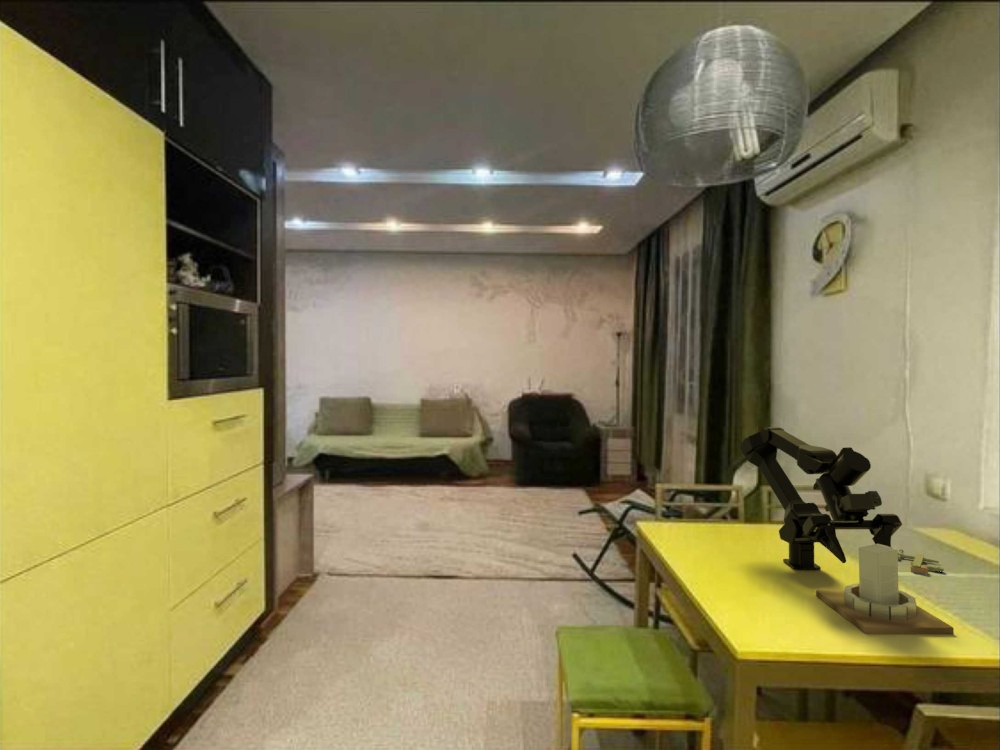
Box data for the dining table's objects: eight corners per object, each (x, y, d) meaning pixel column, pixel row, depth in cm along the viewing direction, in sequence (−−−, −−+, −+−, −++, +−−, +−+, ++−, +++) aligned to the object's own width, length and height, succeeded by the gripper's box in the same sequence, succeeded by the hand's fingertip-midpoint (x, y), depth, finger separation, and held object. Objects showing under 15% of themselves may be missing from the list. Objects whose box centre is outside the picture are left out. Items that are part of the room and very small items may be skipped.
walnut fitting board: (816, 595, 125) (815, 590, 125) (891, 595, 125) (891, 590, 124) (865, 633, 107) (865, 627, 107) (953, 633, 107) (953, 627, 106)
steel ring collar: (832, 595, 122) (832, 583, 122) (890, 595, 122) (890, 583, 122) (866, 620, 110) (866, 607, 110) (930, 620, 110) (930, 607, 110)
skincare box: (878, 600, 119) (877, 543, 119) (899, 608, 115) (899, 548, 115) (858, 605, 117) (857, 546, 117) (879, 613, 113) (878, 553, 113)
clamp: (942, 570, 134) (891, 561, 141) (942, 579, 134) (891, 570, 141) (946, 554, 146) (898, 546, 152) (946, 562, 146) (898, 554, 152)
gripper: (808, 477, 125) (836, 543, 114) (896, 477, 124) (933, 543, 113) (791, 504, 133) (816, 568, 122) (874, 504, 132) (906, 569, 121)
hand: (867, 562), depth 120 cm, fingers open, 9 cm apart
